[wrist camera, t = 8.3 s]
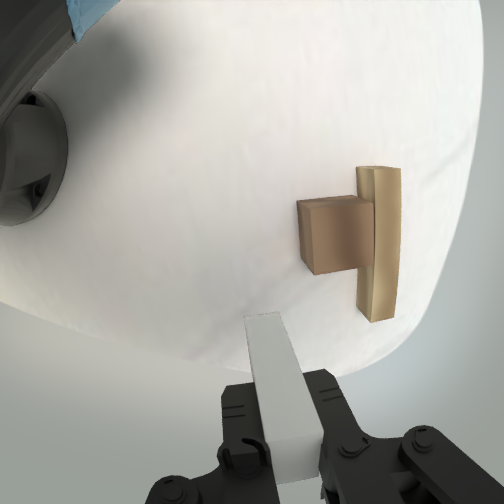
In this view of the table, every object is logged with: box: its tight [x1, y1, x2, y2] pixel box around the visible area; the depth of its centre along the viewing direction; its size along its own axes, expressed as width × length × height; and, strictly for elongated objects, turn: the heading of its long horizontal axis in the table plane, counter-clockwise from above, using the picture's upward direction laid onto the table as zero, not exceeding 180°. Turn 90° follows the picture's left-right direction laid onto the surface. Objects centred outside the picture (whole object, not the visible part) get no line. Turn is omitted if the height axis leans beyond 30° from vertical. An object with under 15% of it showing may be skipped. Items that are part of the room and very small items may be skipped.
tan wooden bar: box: [356, 166, 401, 323], centre depth 30 cm, size 3×16×4 cm, turn 6°
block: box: [297, 195, 374, 275], centre depth 29 cm, size 6×6×5 cm
